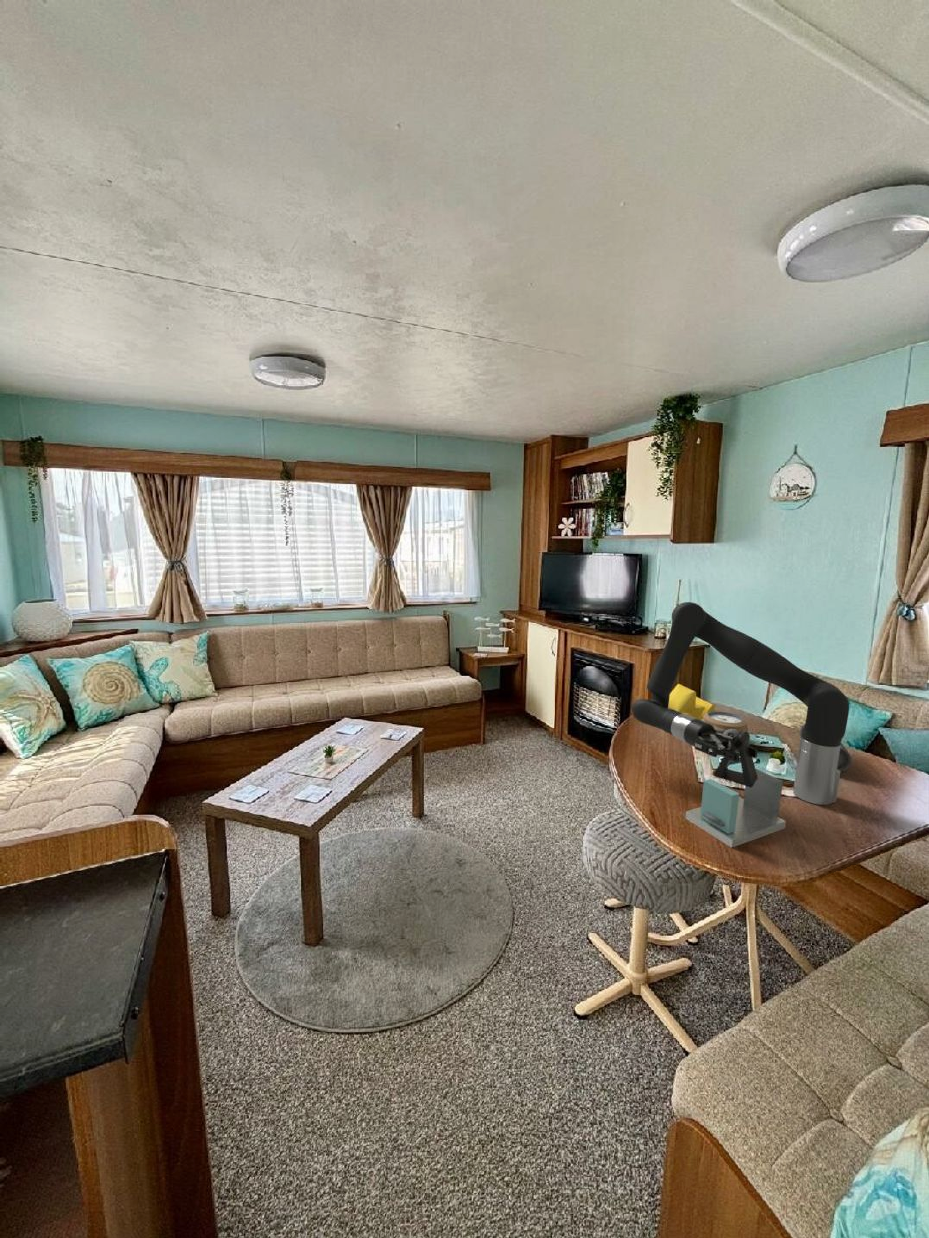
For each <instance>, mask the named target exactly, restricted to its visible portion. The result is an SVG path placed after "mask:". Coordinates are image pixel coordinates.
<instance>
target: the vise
mask: <svg viewBox="0 0 929 1238" xmlns="http://www.w3.org/2000/svg"><path fill="white" fill-rule="evenodd" d="M755 769H756V773H757V777H758V779H757V780H756V782H755V783H754V785H753V787H752V788H751V787H748V786H744V796H743V798H742V797H741V796H739V801H738V810H737V818H736V827H735V832H732V833H729V834H727V833H726V832H724V831H722V830H721V829H719V828H718V827H716V826H714V825H713V824H711V823H709V822H708V821H706V820H705V819H703V818H701V817H700V814H701V806H699V807H696V808H693V809H689V810H686V811H685V820H687V821H688V822H691V823H692V824H693V825H695V826H697V827H698V828H700V829H701V830H703V831H704V832H706V833H708V834H709V835H711V836H712V837H714V838H715V839H717V840H719V841H720V842H721V843H724V845H726V846H728V847H730V848H731V849H732V847H733V848H735V847H737V846H741V845H742V844H746V843H749V842H751V841H755V840H757V839H760V838H762V837H765V836H768V835H770V834H773V833H776V832H780V831H783V830H784V829H786V825H787V824H786V823H787V821H786V820H785V819H782V818H781V817H779V814H780V807H781V799H782V793H783V785H784V780H781V779H780V778H777V777H775V776H773V775H770V774H769V773H766V772H764V771H762V770H759V769H757V768H755Z"/></svg>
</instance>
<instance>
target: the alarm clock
mask: <svg viewBox="0 0 929 1238" xmlns="http://www.w3.org/2000/svg"><path fill="white" fill-rule="evenodd" d="M701 721H704V722H706V723H708V724H711V725H712V726H713V727H714V729H715V731H716V732H717V733H721V734H724V735H725V736H727V735H728V733H733V734H735V735H736V733H737V732H738V731H740V730H742V732H741V733H740V734H739V735H738V736H739V737H741V736H742V735H743V734H744V733H745V731H747V732H748V731H749V727H748V722H747V720H746V719H744V718H742V717H741V716H740V715H737V714H735V713H731V712H727V711H719V710H717V711H714V712H709V713H706V714H704V715H703V719H702V720H701ZM750 743H751V738H749V745H750ZM730 746H731V744H729V745H728V747H730Z"/></svg>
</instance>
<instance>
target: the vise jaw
mask: <svg viewBox="0 0 929 1238" xmlns="http://www.w3.org/2000/svg"><path fill="white" fill-rule="evenodd" d="M739 797H740V793H739V792H737V791H735V790H733V789H731V788H729V787H728V786H725V785H724V784H722V783H720V782H718V781H716V780H714V779H712V778H708V779H705V780H703V785H702V795H701V806H700V807H701V814H700V817H701V818H703V819H705V820H706V821H708V822H709V823H711V824H713V825H714V826H716V827H718V828H719V829H721V830H722V831H724V832H726V833H727V834H729V833H732V832H735V827H736V818H737V810H738V801H739Z"/></svg>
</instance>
